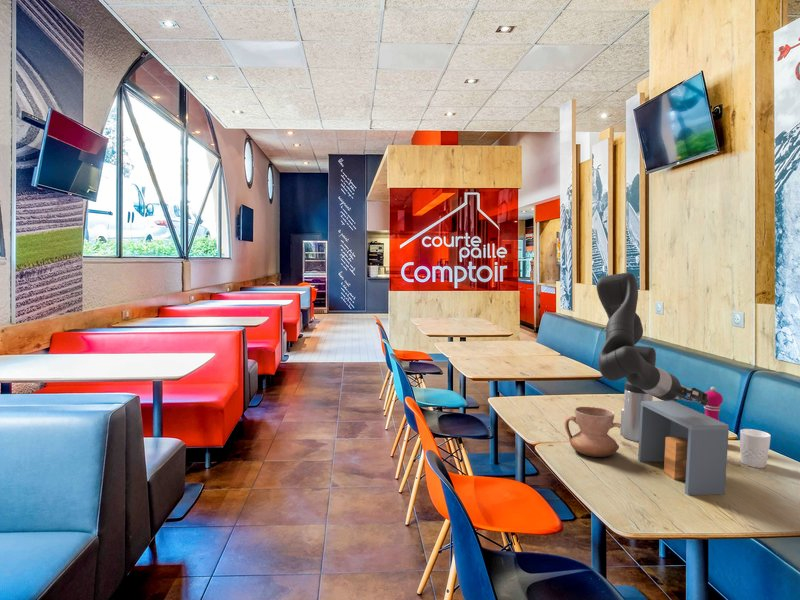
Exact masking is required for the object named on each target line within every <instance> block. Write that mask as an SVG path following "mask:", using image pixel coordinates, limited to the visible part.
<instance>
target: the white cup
mask: <svg viewBox="0 0 800 600" xmlns="http://www.w3.org/2000/svg"><path fill="white" fill-rule="evenodd" d="M739 431H740V432H739V435H740V436H739V449H740V450H739V454H740V463H741V464H742V465H745V466H749V467H752V468H756V467H757V469H763V468H766V467H767V463H768V462H767V461H768V458H769V450H770V445H771V439H772V438H771V434H770V433H768V432H767V431H762V430H758V429H752V428H743V429H740V430H739Z"/></svg>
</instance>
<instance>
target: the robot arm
mask: <svg viewBox="0 0 800 600" xmlns="http://www.w3.org/2000/svg"><path fill="white" fill-rule="evenodd" d="M638 287H639V286H638V282H637V279H636V277H635V275H634V274H633V273H631V272H622V273H616V274H615V273H614V274H609V275H605V276H601V277H600V278H598V279H597V282H596V292H597V296H598V298H599V299H598V300H599V301H600V304H601V305H602V307H603V310H604V311H605V313H606V315H607V317H608V321H607V323H606V327H605V342H604V344H603V347H602V349H601V351H600V354H599V357H598V360H597V361H598V371H599V372H600V374H601V376H602V377H603V378H605V379H606V380H607V381H610V382H611V381H612V382H616V381H619V380H621V379H623V378H625V379H626V381H625V383H624V396H623V397H624V398H623V399H624V400H623V408H621V411H620V412H621V414H620V424H621V425H622V426H621V427H620V428H619V429H620V431H619V432H620V435H621V436H622V437H623V438H625V439H626V440H630V441H633V442H639V430H640V410H641V401H654V400H653V398H656V399H659V401H675V402H677V401H678V400H682V401H686V402H695V403H698V404H699V405H702V406H703V407H704V406H707V405H708V400H709V399H708V398H707V396H708V394H706V393H705V392H704V391H702V390H700V389H698V388H696V387H687V386H684V385H683V384H681V382H680V381H679V379H678V377H677V376H675V375H673V374H672V373H670V372H668V371H666V370H664V369H663V368H661V367H658V366H656V363H657V361H656V360H657V353H656V349H655V348H654V347H653V346H652V347H651V346H645V345H644V346H643V345H636V344H638V342H640V340H641V339H642V337H643V335H644V328H643V324H642V320H641V318H640V316H639V314H637V306H638V299H639V288H638Z"/></svg>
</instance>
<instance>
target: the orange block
mask: <svg viewBox="0 0 800 600" xmlns="http://www.w3.org/2000/svg"><path fill="white" fill-rule="evenodd" d="M687 447H688V440H687V439H685V438H683V437H666V441H665V459H664V461H663V462H664V464H663V474H665V475H667V476H668V477H669V478H671V479H672V480H676V481H677V480H679V481H680V480H681V481H682V480H684V481H685V480H686V465H687Z"/></svg>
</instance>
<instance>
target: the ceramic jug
mask: <svg viewBox="0 0 800 600" xmlns="http://www.w3.org/2000/svg"><path fill="white" fill-rule="evenodd" d="M574 414H575V416H574V415H569V416H567V417H566V418H564V424H563V425H564V429H565V432H566V434H567V436H568V441H569V442H570V446H571V447H572V449H573V450H575V451H577V452H578V453H579V454H582V455H585V456H587V457H592V458H605V457H609V456H611V455H614V454H615V453H616V452H617V451H618V450H619V449H620V445H619V444H618V442H617V441H616V440H615V439H614V438H613V437H611V435H609V434H608V433H609V431H610V430H611V429H613V428H618V429H620V428H621V426H622V425H621V422H620V423H619V422H614V419H615V412H614V411H613V410H611V409H607V408H604V407H595V406H593V407H592V406H577V407H575V408H574ZM570 421H572V422H574V423H575V424H576V425H578V427H579V430H580V431H578V432H577V433H575V434H574V435H572V433H571V429H570V425H569V424H570Z"/></svg>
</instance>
